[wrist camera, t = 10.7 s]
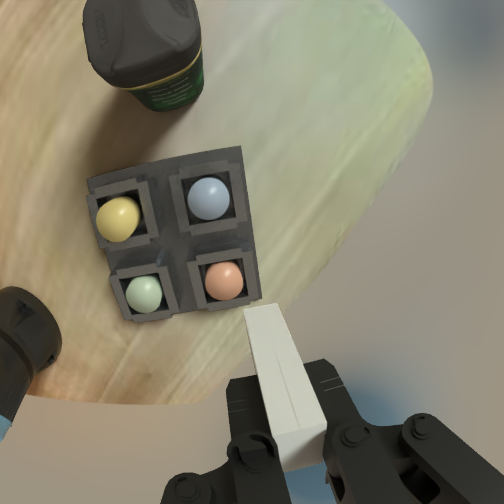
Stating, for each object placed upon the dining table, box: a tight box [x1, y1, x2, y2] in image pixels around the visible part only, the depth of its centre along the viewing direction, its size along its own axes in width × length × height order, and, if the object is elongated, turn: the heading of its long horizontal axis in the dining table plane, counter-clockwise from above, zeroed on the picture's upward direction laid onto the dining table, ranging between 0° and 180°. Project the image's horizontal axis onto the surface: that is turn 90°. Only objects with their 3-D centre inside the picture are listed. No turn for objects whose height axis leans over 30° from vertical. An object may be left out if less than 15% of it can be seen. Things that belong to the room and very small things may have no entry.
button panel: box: [86, 146, 262, 323], centre depth 34 cm, size 19×20×4 cm
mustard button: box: [96, 196, 141, 242], centre depth 29 cm, size 4×4×3 cm
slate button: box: [188, 176, 230, 220], centre depth 32 cm, size 4×4×3 cm
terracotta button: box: [205, 259, 243, 300], centre depth 35 cm, size 4×4×3 cm
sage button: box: [126, 273, 163, 313], centre depth 35 cm, size 4×4×3 cm
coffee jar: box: [82, 0, 204, 112], centre depth 20 cm, size 10×8×19 cm
